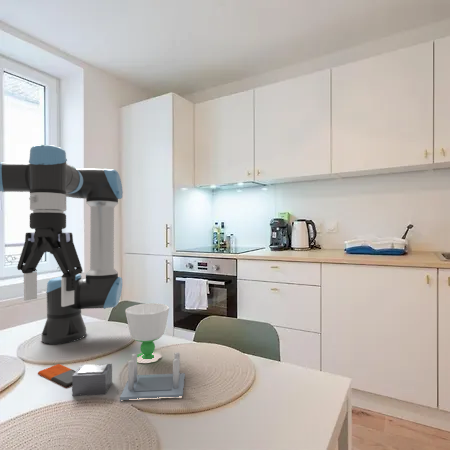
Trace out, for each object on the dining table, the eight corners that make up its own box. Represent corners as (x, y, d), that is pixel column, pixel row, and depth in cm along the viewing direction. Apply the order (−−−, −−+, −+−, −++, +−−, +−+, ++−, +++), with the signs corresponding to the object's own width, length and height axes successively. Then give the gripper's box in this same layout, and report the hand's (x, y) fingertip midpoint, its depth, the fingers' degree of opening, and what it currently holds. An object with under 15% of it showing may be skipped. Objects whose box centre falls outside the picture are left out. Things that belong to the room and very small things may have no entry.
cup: (155, 370, 91) (154, 316, 91) (115, 364, 95) (115, 312, 95) (177, 352, 104) (176, 304, 104) (141, 347, 108) (141, 301, 108)
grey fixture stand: (130, 379, 86) (130, 349, 86) (184, 376, 87) (184, 348, 87) (119, 401, 75) (119, 368, 75) (182, 398, 76) (182, 365, 76)
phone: (59, 362, 95) (89, 375, 87) (59, 367, 95) (89, 380, 87) (36, 371, 89) (66, 385, 81) (36, 375, 89) (66, 390, 81)
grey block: (80, 384, 84) (80, 363, 84) (112, 383, 84) (111, 362, 84) (71, 396, 78) (71, 374, 78) (105, 395, 78) (105, 373, 78)
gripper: (0, 213, 76) (0, 300, 76) (69, 209, 65) (70, 312, 65) (31, 214, 83) (31, 294, 82) (98, 211, 72) (99, 304, 71)
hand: (48, 302), depth 74 cm, fingers open, 13 cm apart
